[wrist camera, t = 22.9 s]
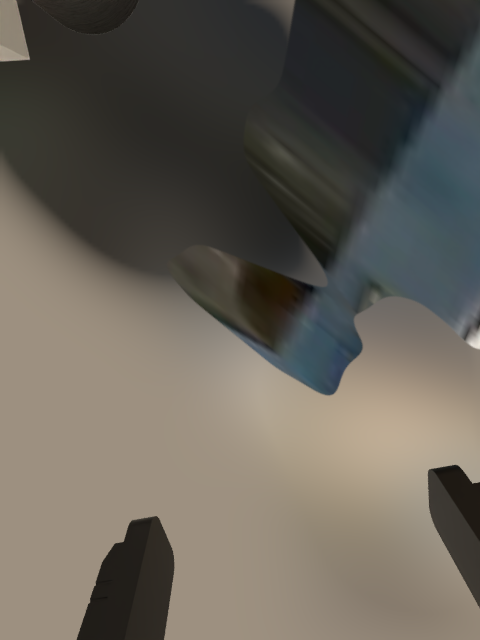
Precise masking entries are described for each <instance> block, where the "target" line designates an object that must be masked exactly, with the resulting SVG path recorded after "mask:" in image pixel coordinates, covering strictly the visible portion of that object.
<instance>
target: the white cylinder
mask: <svg viewBox="0 0 480 640" xmlns="http://www.w3.org/2000/svg"><path fill="white" fill-rule="evenodd" d="M32 1H33V2H34V3H35V4H37V5H38V6H39V7H41V8H42V9H43V10H44V11H45V12H47V13H48V14H49V15H50V16H52V17H53V18H54V19H55V20H57V21H58V22H59V23H61V24H62V25H64V26H65V27H67V28H69V29H71V30H73V31H76V32H79V33H83V34H91V35H95V34H103V33H107V32H109V31H112V30H114V29H116V28H117V27H119V26H120V25H121V24H122V23H124V22H125V21H126V20H127V19H128V18H129V17H130V15H131V14H132V12H133V11H134V9H135V8H136V6H137V3H138V1H139V0H32Z"/></svg>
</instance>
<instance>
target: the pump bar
mask: <svg viewBox="0 0 480 640" xmlns="http://www.w3.org/2000/svg"><path fill="white" fill-rule="evenodd" d="M15 60H30V58H29V54H28V49H27V45H26V41H25V36H24V32H23V27H22V23H21V18H20V14H19V10H18V5H17V1H16V0H0V61H15Z"/></svg>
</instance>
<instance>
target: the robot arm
mask: <svg viewBox="0 0 480 640" xmlns="http://www.w3.org/2000/svg"><path fill="white" fill-rule="evenodd" d="M428 489H429V508H430V513H431V517H432V520H433V523H434V525H435V527H436V529H437V531H438V533H439V535H440V537H441V539H442V541H443V542H444V544H445V546H446V548H447V550H448V551H449V553H450V555H451V557H452V559H453V560H454V562H455V564H456V566H457V568H458V569H459V571H460V573H461V575H462V577H463V579H464V580H465V582H466V584H467V586H468V588H469V589H470V591H471V593H472V595H473V597H474V598H475V600H476V602H477V604H478V606H479V607H480V482H479V483H473V484H472V482H471V481H470V480H469V478H468V477H467V476H466V474H465V473H464V472H463V470H462V469H461V468H460V467H459V466H458V465H452V466H446V467H440V468H435V469H430V470H429V471H428ZM173 575H174V555H173V551H172V548H171V545H170V543H169V541H168V538H167V536H166V534H165V531H164V529H163V527H162V524H161V522H160V520H159V518H158V517H157V516H155V517H149V518H143V519H137V520H132V521H131V522H130V524H129V526H128V530H127V533H126V537H125V540H124V542H122V543H116V544H114V546H113V547H112V549H111V550H110V552H109V553H108V555H107V556H106V558H105V559H104V560H103V562H102V565H101V568H100V571H99V574H98V577H97V580H96V586H94V589H93V592H92V595H91V598H90V604H88V607H87V610H86V613H85V616H84V619H83V622H82V625H81V628H80V631H79V634H78V637H77V640H164V636H165V628H166V622H167V616H168V609H169V601H170V595H171V588H172V582H173Z"/></svg>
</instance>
